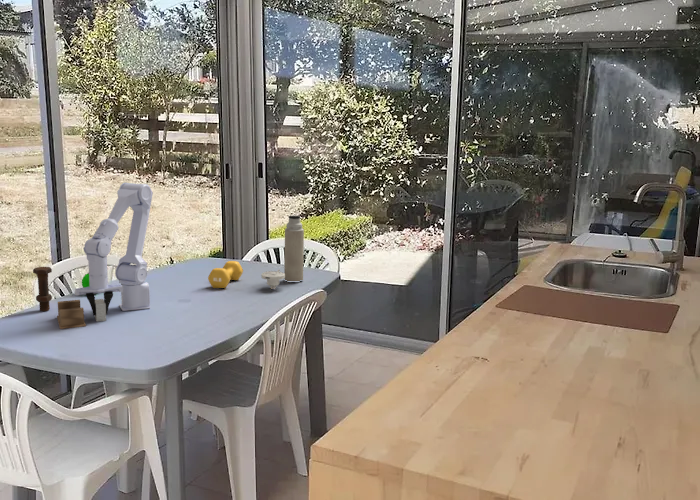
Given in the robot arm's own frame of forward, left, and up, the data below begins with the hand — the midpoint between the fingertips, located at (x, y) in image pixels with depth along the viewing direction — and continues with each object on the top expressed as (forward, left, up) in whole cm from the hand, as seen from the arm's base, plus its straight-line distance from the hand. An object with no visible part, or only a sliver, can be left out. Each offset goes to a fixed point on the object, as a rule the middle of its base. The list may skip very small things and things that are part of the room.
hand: (100, 314), depth 218 cm
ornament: (-2, -36, -2) cm, 36 cm away
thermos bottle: (-81, -27, -2) cm, 85 cm away
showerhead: (-68, -17, -2) cm, 70 cm away
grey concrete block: (0, 0, -2) cm, 2 cm away
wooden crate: (+9, 0, -2) cm, 9 cm away
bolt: (+16, -17, -2) cm, 23 cm away
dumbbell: (-53, -32, -2) cm, 62 cm away
